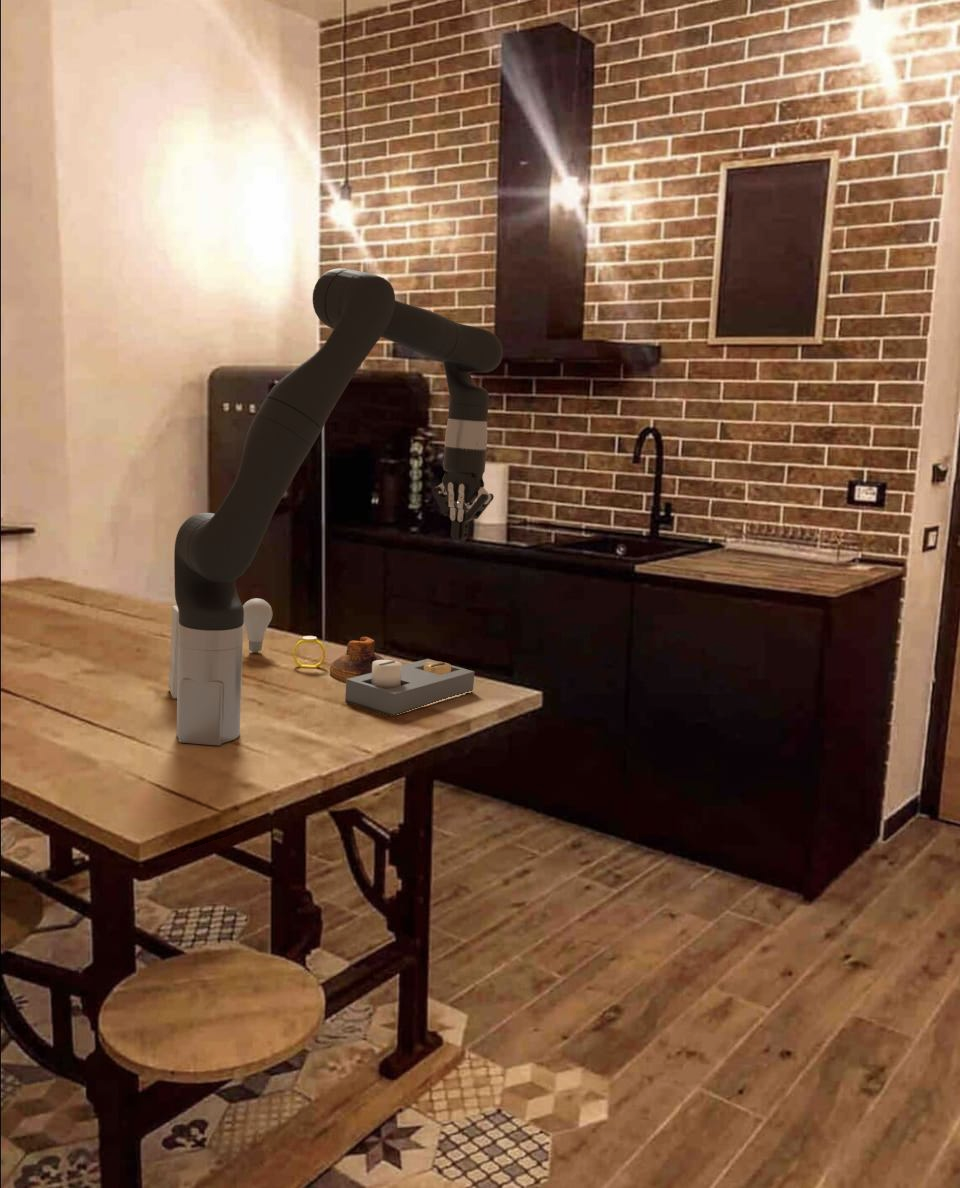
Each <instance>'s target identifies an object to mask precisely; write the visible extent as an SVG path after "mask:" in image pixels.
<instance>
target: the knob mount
mask: <svg viewBox="0 0 960 1188" xmlns="http://www.w3.org/2000/svg"><path fill="white" fill-rule="evenodd" d="M431 661H435V660H434V659H430V658H425V659H422V660H421V659H420V660H418V661H415V662H411V663H406V664H402V670H401V685H400V686H398V687H394V688H391V689H385V688H381V687H378V686H375V685H372V684H371V680H372V673H369V674H365V675H361V676H357V677H353V678H349V679H346V683H345V695H344V696H345V697H344V698H345V699H344V700H345V701H344V702H346V703H348V704H352V705H355V706H358V707H361V708H363V709H368V710H370V711H373V712H376V711H377V712H376V713H379V712H381V713H380V714H382V713H384V714H383V715H385V714H388V715H392V716H395V715H397V714H400V713H403V712H406V711H409V710H412V709H415V708H418V707H421V706H424V705H427V704H430V703H433V702H436V701H439V700H442V699H446V698H448V697H452V696H455V695H459V694H463V693H465V692H469V691H472V690H473V691H474V681H475V671H474V670H469V669H466V668H463V667H460V666H457V665H451V664H450V665H451V672H449V673H446V674H442V675H438V674H434V673H431V672H427V671H424V663H426V662H431ZM436 661H437V660H436ZM437 662H439V661H437ZM388 715H387V716H388ZM392 716H391V717H392ZM395 717H396V716H395Z"/></svg>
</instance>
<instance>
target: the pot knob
mask: <svg viewBox="0 0 960 1188" xmlns="http://www.w3.org/2000/svg"><path fill="white" fill-rule="evenodd" d="M402 665H403V664H402V662H400V661H397V660H392V659H385V660H376V661H373V663H372V680H371V684H372V685H375V686H378V687H381V688H385V689H391V688H394V687H398V686H400V685H401V670H402Z"/></svg>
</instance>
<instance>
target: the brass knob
mask: <svg viewBox="0 0 960 1188" xmlns="http://www.w3.org/2000/svg"><path fill="white" fill-rule="evenodd" d="M424 671H427V672H431V673H434V674H438V675H442V674H446V673H449V672H451V664H450V663H447V662H443V661H438V662H437V660H434V661H431V662H426V663H424Z"/></svg>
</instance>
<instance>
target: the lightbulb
mask: <svg viewBox="0 0 960 1188" xmlns="http://www.w3.org/2000/svg"><path fill="white" fill-rule="evenodd" d="M242 605H243V608H244V623H243V626H244V627H245V630H246V634H247V641H248V650H249V651H250V652H252V654H253V653H254V654H257V653H259V652H260V651H262V650H263V649H262V648H263V641H264V639H265V634H266V630H267V628H268V626H270V623H271V621H272V619H273V613H274V612H273V609H272V606H271V605H270V603H269V602H267V601H266V600H265V599H263V598H257V597H255V598H250V599H249V600H247V601H246V602H244V604H242Z"/></svg>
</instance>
